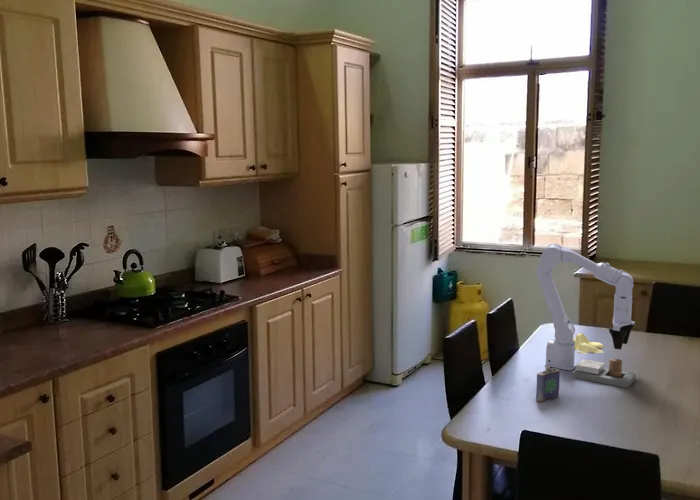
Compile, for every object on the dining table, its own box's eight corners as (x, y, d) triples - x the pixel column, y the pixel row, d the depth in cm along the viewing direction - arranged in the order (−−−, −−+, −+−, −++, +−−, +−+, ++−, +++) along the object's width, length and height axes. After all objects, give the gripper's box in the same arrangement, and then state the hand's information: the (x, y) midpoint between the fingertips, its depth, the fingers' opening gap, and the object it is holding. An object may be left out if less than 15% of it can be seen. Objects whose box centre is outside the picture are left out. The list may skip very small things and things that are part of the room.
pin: (607, 381, 226) (608, 361, 225) (609, 377, 230) (610, 357, 228) (619, 383, 224) (620, 363, 223) (622, 379, 227) (623, 359, 226)
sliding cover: (575, 370, 230) (576, 364, 230) (582, 364, 236) (582, 359, 236) (598, 374, 226) (598, 368, 226) (604, 368, 232) (604, 362, 232)
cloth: (546, 350, 262) (547, 335, 261) (561, 339, 277) (562, 324, 276) (606, 360, 249) (607, 344, 248) (618, 347, 264) (619, 332, 263)
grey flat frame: (572, 377, 230) (573, 371, 230) (581, 369, 238) (582, 364, 238) (628, 387, 220) (628, 382, 219) (635, 379, 228) (635, 373, 227)
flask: (539, 403, 208) (541, 369, 206) (532, 400, 210) (534, 367, 208) (560, 397, 212) (562, 364, 211) (553, 394, 215) (555, 362, 213)
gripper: (629, 314, 223) (627, 353, 225) (640, 305, 235) (638, 343, 237) (607, 311, 227) (605, 349, 229) (619, 302, 239) (617, 339, 241)
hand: (620, 346), depth 233 cm, fingers open, 7 cm apart
